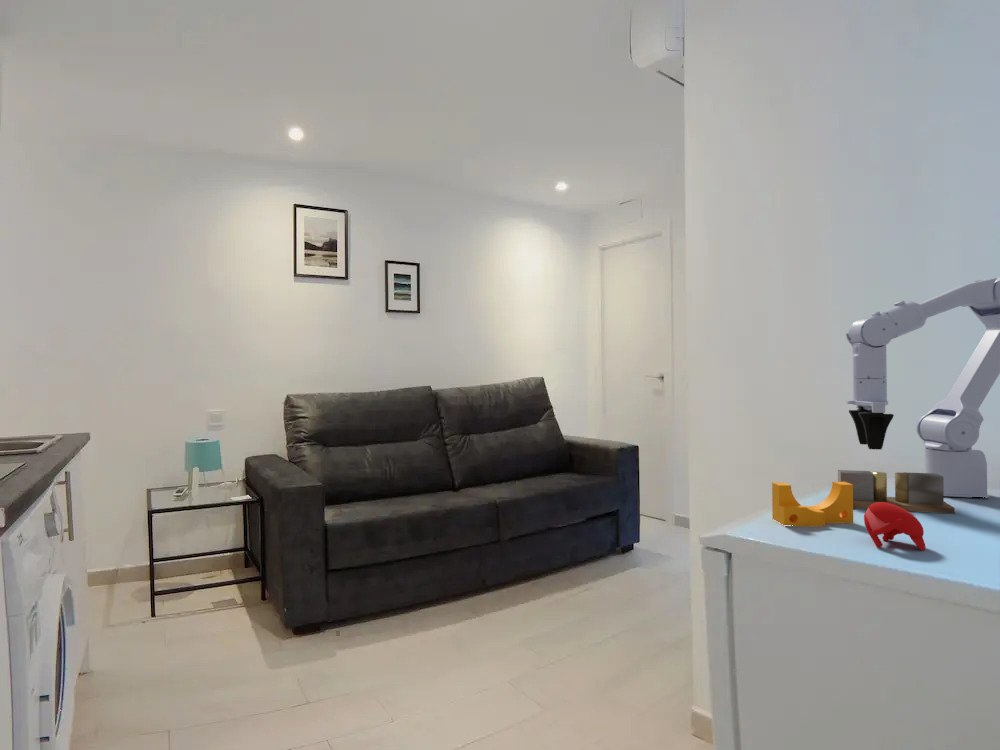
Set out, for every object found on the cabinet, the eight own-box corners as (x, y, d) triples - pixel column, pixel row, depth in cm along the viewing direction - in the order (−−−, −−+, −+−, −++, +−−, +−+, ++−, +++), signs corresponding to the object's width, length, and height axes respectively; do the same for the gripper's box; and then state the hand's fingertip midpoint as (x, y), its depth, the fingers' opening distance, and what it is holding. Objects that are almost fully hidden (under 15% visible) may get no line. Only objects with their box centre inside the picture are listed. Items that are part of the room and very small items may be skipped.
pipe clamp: (784, 527, 97) (783, 487, 97) (772, 520, 101) (772, 482, 101) (859, 526, 97) (859, 486, 97) (844, 520, 101) (844, 481, 101)
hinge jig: (940, 504, 110) (940, 472, 110) (954, 513, 103) (954, 478, 103) (835, 499, 116) (834, 468, 116) (842, 507, 109) (842, 474, 109)
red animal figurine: (853, 523, 86) (894, 507, 82) (858, 502, 91) (897, 486, 87) (891, 569, 85) (934, 555, 81) (894, 545, 90) (935, 531, 86)
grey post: (884, 498, 111) (884, 471, 111) (888, 502, 108) (888, 474, 108) (838, 496, 114) (837, 470, 114) (841, 499, 111) (840, 472, 111)
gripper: (839, 377, 128) (840, 441, 128) (854, 379, 114) (855, 450, 115) (878, 377, 126) (878, 442, 126) (897, 379, 112) (898, 452, 112)
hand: (870, 446), depth 120 cm, fingers open, 7 cm apart
